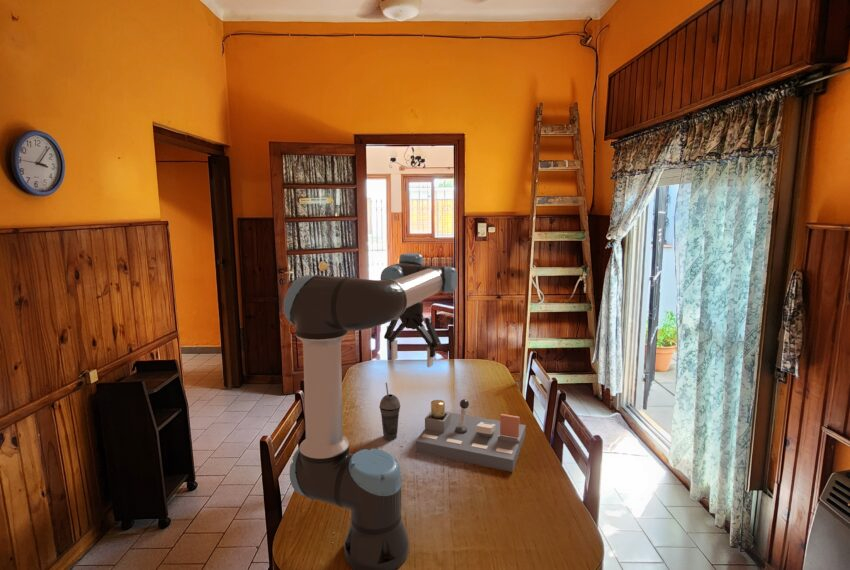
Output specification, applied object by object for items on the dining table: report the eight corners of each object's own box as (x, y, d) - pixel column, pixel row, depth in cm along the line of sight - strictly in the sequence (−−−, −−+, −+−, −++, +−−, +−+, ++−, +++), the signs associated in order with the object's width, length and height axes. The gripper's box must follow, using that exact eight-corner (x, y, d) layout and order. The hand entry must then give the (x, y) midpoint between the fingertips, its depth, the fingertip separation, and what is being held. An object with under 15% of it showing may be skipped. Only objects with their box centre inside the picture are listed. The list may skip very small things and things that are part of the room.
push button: (442, 423, 159) (442, 406, 158) (428, 420, 161) (429, 404, 159) (446, 417, 163) (446, 401, 162) (433, 414, 165) (433, 398, 164)
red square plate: (518, 438, 152) (519, 418, 151) (500, 434, 154) (500, 415, 153) (518, 436, 153) (519, 416, 152) (500, 433, 155) (501, 413, 154)
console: (512, 472, 142) (513, 447, 141) (415, 452, 153) (415, 429, 152) (525, 435, 164) (526, 414, 163) (439, 420, 175) (439, 400, 174)
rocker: (490, 434, 152) (491, 427, 152) (475, 431, 154) (476, 425, 154) (495, 430, 158) (495, 423, 159) (480, 427, 160) (481, 421, 160)
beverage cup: (397, 443, 159) (397, 387, 155) (377, 441, 160) (376, 386, 157) (402, 433, 166) (402, 379, 162) (383, 431, 167) (382, 378, 164)
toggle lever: (464, 426, 157) (468, 399, 159) (455, 424, 159) (459, 398, 161) (467, 426, 160) (470, 400, 162) (458, 424, 161) (461, 398, 163)
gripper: (451, 302, 150) (450, 365, 154) (385, 295, 161) (386, 353, 165) (441, 307, 143) (440, 372, 147) (373, 299, 155) (374, 360, 158)
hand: (411, 362), depth 156 cm, fingers open, 13 cm apart
